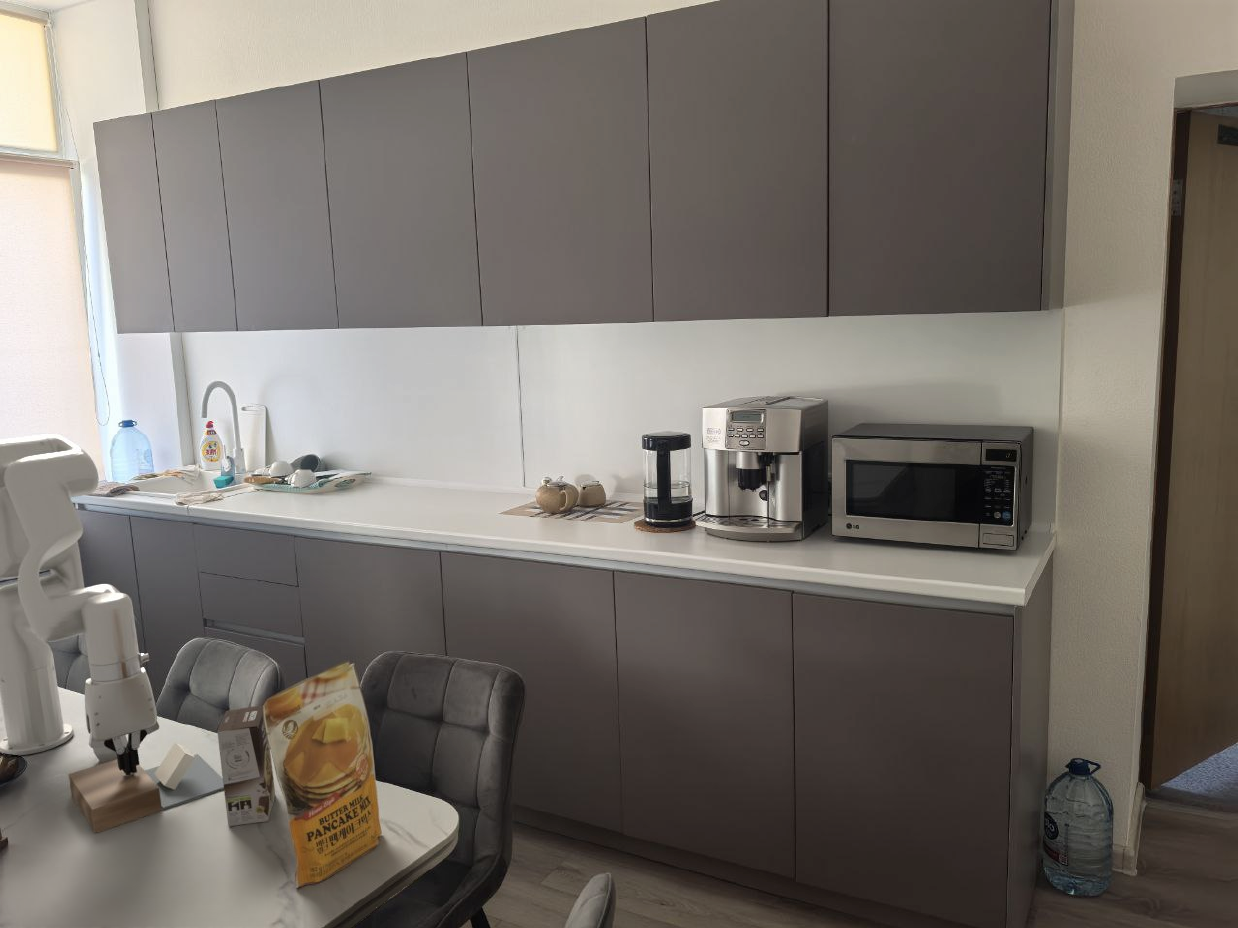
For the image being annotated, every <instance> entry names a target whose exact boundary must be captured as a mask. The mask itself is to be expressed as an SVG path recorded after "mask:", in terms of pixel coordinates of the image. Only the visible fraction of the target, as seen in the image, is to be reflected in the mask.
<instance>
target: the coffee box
mask: <svg viewBox="0 0 1238 928" xmlns="http://www.w3.org/2000/svg"><path fill="white" fill-rule="evenodd" d="M262 707H263V705H257V706H256V705H255V706H249V707H244V708H243V707H242V708H239V709H231V710H226V711H225V713H224V715H223V718H222V720H221V722H220V724H219V727H218V730H217V739H218V749H219V756H220V757H219V759H220V766H221V768H220V769H221V774H222V776H221V777H222V778H223V785H224V790H223V791H224V800H225V802H224V803H225V808H226V817H227V826H228V827H232V826H233V827H234V826H241V825H248V824H257V823H262V822H263V823H265V822H268V821H269V820H270V815H271V811H272V808H273V804H274V802H275V801H274V800H275V797H276V790H275V780H274V779H275V778H274V770H273V762H272V761H273V760H272V753H271V749H270V746H269V744H268V741H267V737H266V732H265V727H264V722H263V714H262Z"/></svg>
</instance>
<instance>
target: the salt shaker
mask: <svg viewBox="0 0 1238 928" xmlns="http://www.w3.org/2000/svg"><path fill="white" fill-rule="evenodd" d="M120 737H121V740H122V743H123V746H124V747H125V748H126V746H127V743H128V737H127V736H126V735H123V736H120ZM92 751H93V754H94V756H95V757H96V758H97V759H98V761H99V762H100V763H101V764H103V763H106V762H110V761H113V760H116V759H117V754H116V752H115V751H113V750H111V749H109V748H107V747H103V748H92Z"/></svg>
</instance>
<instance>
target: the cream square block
mask: <svg viewBox="0 0 1238 928" xmlns="http://www.w3.org/2000/svg"><path fill="white" fill-rule="evenodd" d="M169 749H170V750H169V751H168V752H167V754H166V755H165V757H164V758H163V760H162V761H161V763H160V764H159V765H158V766H159V768H158V769H157V771H156V772H155V775H156V777H157V778H158V779H159V780H160V781H161V782H162V784H163V785H164V786H166V787H169V788H171V789H174V790H175V789H176V787H177V785H178V784H179V782H180V781H181V779H182V778H183V776H184V775H185V773H186V771H187V770H188V768H189V767H190V765H191V764H192V762H193V761H194V759H195V757H194V756H193V755H194V754H193V753H192V752H190V750H189V749H187V748H186V746H184V745H182V744H179V743H178V742H174V743H173V744H172V746H171V748H169Z"/></svg>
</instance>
